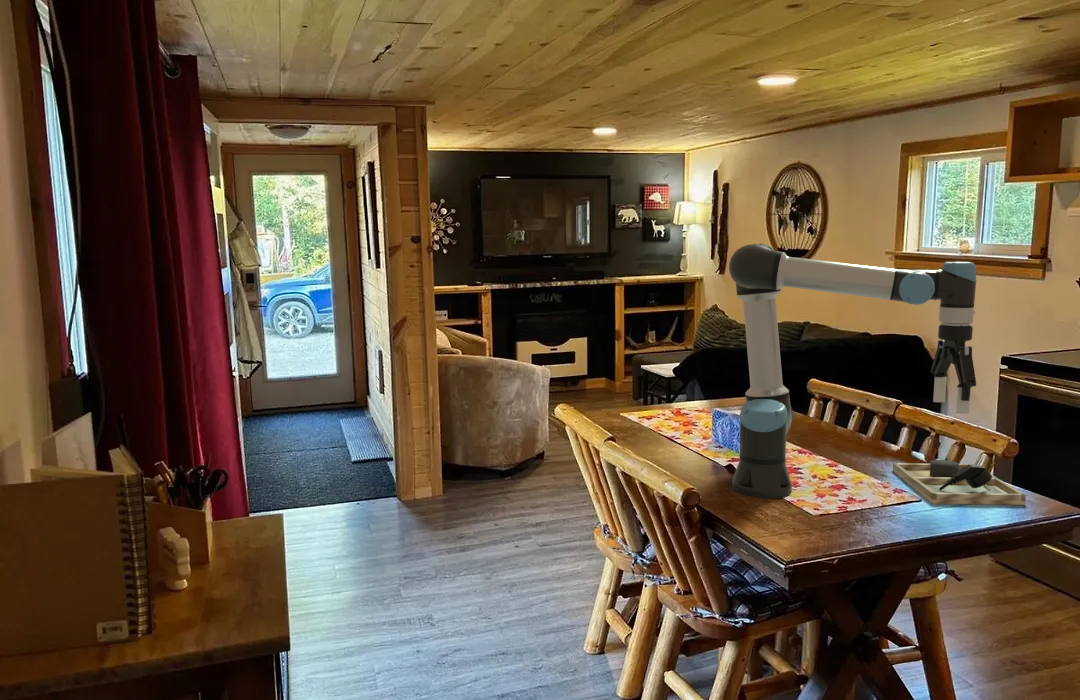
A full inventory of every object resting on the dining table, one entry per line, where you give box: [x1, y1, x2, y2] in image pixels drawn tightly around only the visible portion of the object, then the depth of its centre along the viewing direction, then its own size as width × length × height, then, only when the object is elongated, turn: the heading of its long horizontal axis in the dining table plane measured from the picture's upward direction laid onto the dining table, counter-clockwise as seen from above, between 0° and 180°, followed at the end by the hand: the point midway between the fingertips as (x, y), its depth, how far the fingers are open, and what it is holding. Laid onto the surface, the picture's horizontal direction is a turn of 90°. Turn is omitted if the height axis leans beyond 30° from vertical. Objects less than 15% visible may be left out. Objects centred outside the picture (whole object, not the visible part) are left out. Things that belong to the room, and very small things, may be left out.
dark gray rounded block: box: [929, 459, 960, 477], centre depth 211 cm, size 7×7×4 cm
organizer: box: [892, 462, 1027, 506], centre depth 205 cm, size 22×27×2 cm
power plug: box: [939, 463, 993, 491], centre depth 198 cm, size 6×8×12 cm
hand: (950, 407), depth 196 cm, fingers open, 13 cm apart
